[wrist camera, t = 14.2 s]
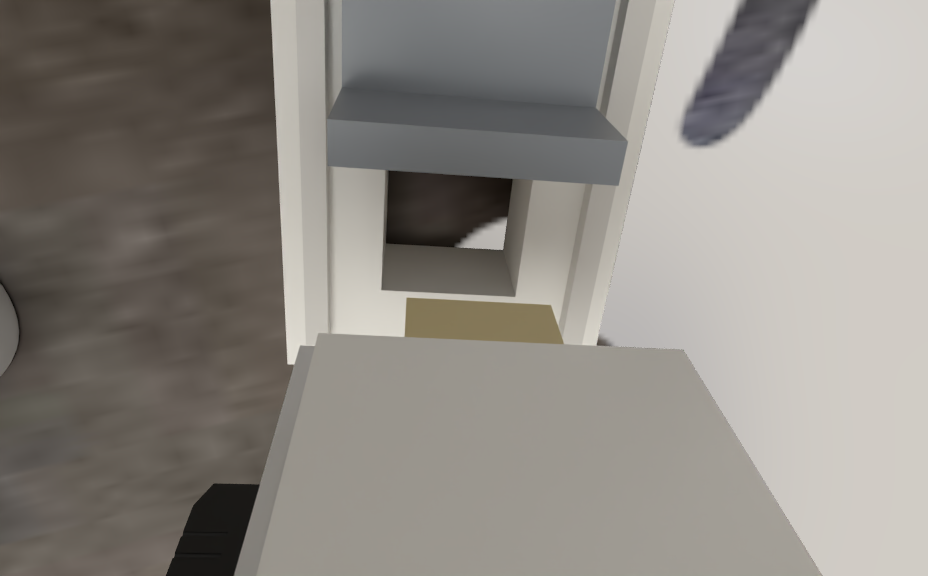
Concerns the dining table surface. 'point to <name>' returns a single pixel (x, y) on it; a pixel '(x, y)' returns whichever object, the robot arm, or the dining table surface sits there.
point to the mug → (7, 331)
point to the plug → (516, 459)
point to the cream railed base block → (430, 267)
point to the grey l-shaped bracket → (476, 89)
